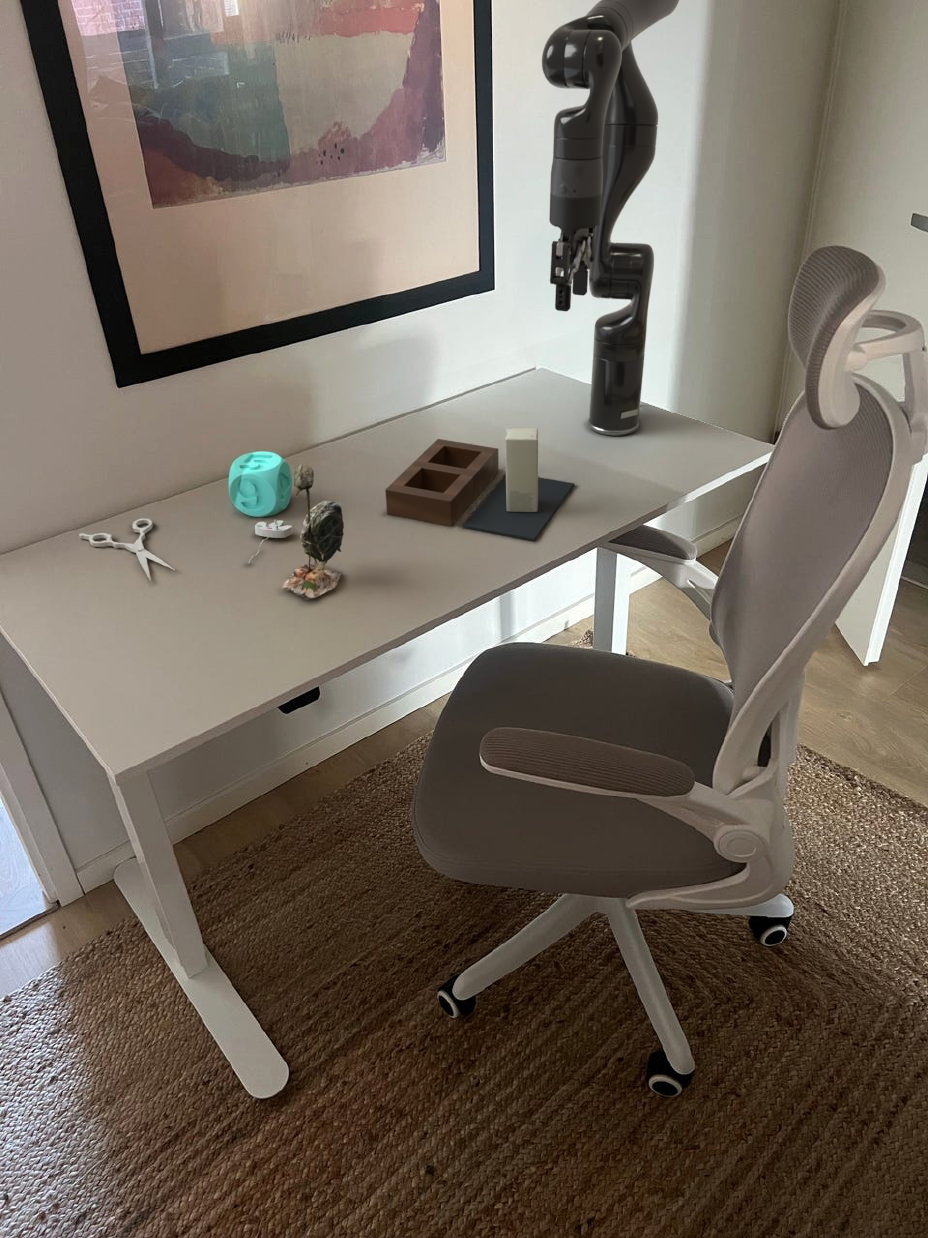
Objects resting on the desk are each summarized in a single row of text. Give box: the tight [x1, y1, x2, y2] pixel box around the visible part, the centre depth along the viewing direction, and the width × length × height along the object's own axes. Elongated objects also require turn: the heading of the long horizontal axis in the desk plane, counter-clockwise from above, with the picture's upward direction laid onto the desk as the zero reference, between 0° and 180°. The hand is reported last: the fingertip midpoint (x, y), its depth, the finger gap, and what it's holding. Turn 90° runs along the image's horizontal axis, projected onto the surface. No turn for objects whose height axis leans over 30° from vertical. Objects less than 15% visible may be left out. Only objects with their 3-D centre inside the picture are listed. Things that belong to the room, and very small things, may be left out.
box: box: [504, 427, 539, 512], centre depth 156 cm, size 5×4×13 cm
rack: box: [384, 438, 499, 527], centre depth 164 cm, size 21×11×4 cm, turn 157°
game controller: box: [248, 519, 293, 565], centre depth 151 cm, size 6×12×3 cm, turn 2°
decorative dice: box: [228, 451, 293, 518], centre depth 161 cm, size 8×8×8 cm
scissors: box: [78, 518, 176, 581], centre depth 151 cm, size 11×1×20 cm
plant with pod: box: [281, 463, 345, 601], centre depth 138 cm, size 8×11×20 cm
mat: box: [462, 474, 575, 542], centre depth 161 cm, size 20×12×1 cm, turn 157°
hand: (571, 302), depth 152 cm, fingers open, 8 cm apart
